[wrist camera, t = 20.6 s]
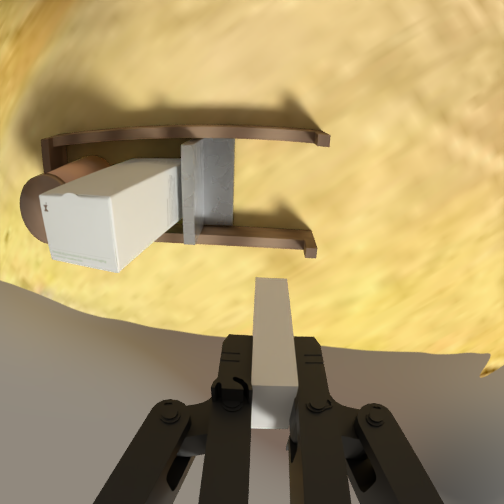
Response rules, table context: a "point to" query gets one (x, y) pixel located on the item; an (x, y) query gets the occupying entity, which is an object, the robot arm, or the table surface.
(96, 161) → the jar
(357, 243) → the table surface
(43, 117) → the table surface
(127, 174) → the skincare box
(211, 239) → the frame
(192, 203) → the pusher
